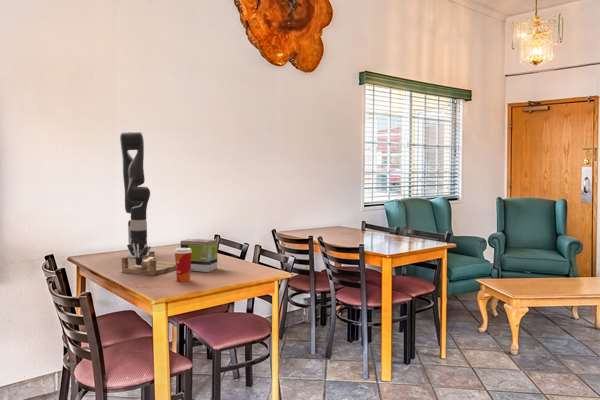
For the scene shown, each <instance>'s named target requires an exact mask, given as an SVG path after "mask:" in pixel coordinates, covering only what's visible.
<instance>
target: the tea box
mask: <svg viewBox="0 0 600 400" xmlns="http://www.w3.org/2000/svg"><path fill="white" fill-rule="evenodd" d="M180 248H186V249H187V248H191V251H192V252H191V272H203V273H210V272H212V271H215V270H217V269H218V239H215V238H194V237H193V238H192V237H191V238H187V239H182V240H180Z"/></svg>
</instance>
